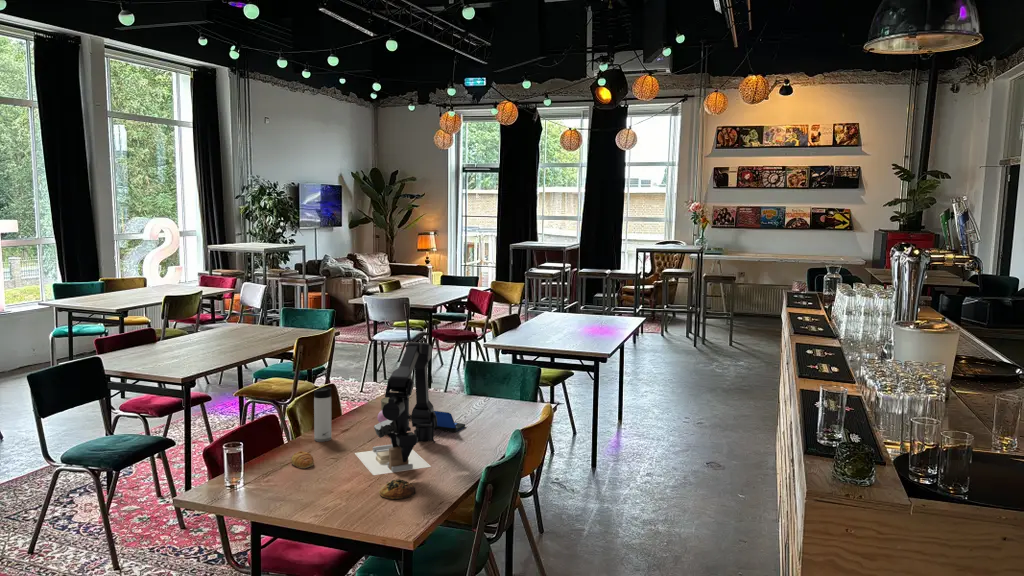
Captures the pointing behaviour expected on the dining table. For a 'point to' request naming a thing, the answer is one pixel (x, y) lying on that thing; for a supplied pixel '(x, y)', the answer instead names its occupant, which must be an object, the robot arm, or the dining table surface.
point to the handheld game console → (447, 422)
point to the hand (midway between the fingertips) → (400, 457)
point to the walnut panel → (395, 457)
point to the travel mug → (322, 414)
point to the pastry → (302, 459)
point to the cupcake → (381, 417)
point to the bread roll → (397, 489)
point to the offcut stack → (382, 457)
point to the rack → (377, 468)
